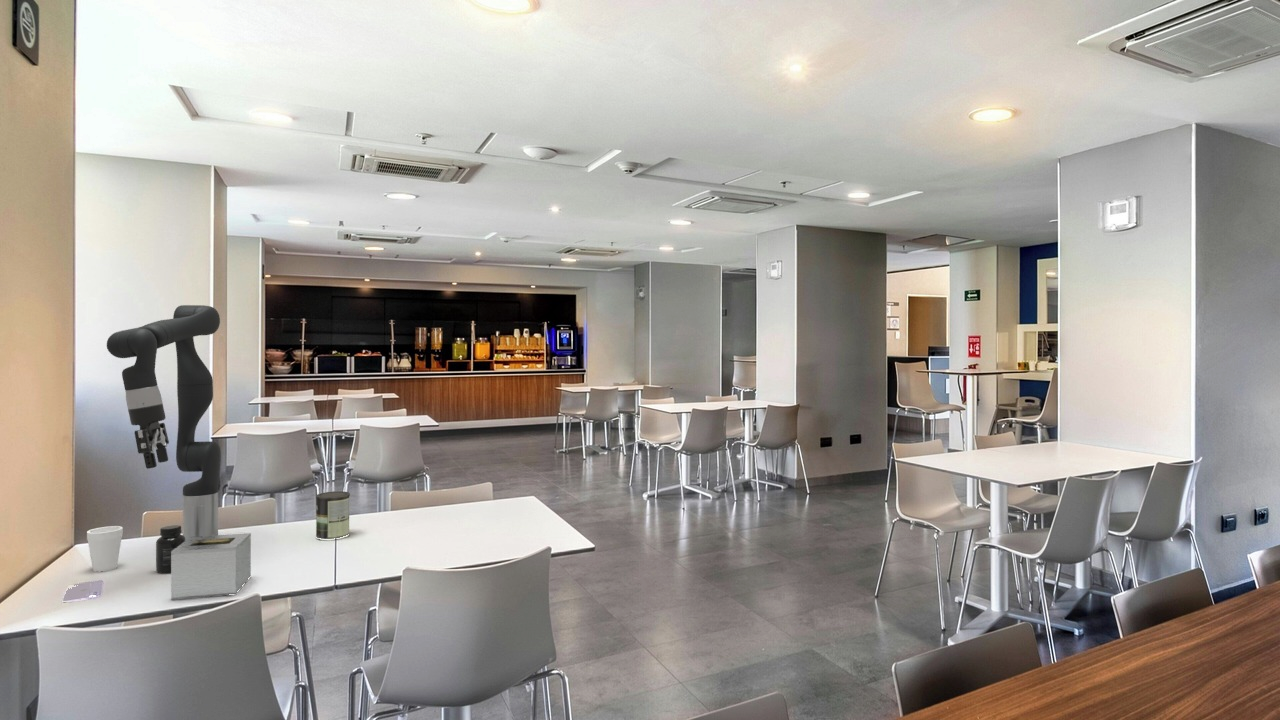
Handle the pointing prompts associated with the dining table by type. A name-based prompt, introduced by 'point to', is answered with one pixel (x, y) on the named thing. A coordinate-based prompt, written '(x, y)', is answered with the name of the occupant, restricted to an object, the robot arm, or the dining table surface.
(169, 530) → the supplement bottle
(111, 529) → the foam cup
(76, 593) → the mobile phone
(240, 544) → the coin box
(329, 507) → the coffee can
